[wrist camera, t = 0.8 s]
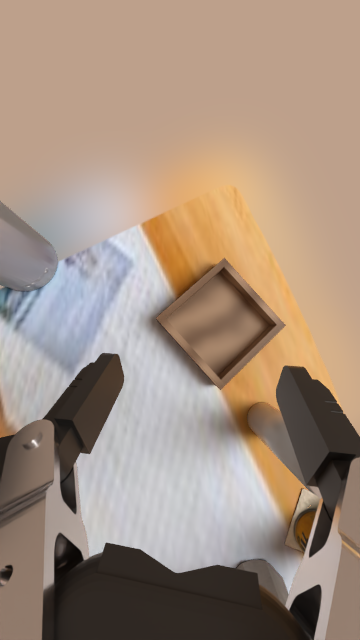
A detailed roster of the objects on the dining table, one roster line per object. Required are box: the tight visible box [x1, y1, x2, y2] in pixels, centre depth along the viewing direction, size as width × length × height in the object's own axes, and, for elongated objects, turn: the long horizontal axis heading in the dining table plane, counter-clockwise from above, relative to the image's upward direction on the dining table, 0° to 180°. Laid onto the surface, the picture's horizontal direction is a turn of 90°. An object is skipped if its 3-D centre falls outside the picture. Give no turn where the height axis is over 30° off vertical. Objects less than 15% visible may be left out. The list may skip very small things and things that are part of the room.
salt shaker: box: [247, 402, 322, 499], centre depth 24 cm, size 5×5×13 cm
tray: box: [156, 258, 286, 390], centre depth 30 cm, size 14×14×3 cm
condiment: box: [285, 489, 320, 554], centre depth 24 cm, size 7×8×12 cm
